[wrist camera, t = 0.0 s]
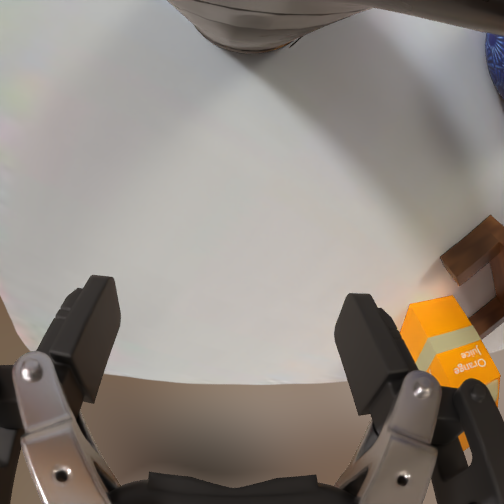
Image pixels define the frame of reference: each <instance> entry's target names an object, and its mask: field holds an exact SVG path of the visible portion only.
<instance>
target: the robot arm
mask: <svg viewBox="0 0 504 504" xmlns="http://www.w3.org/2000/svg"><path fill="white" fill-rule="evenodd" d="M167 1H168V2H169V3H170V4H171V5H173V6H174V7H175V8H176V9H177V10H178V11H179V12H180V13H181V14H183V15H184V16H185V17H186V18H187V19H188V20H189V21H190V22H191V23H192V24H193V25H194V26H195V27H196V29H197V30H198V31H199V32H200V33H201V34H202V35H203V36H204V37H205V38H206V39H208V40H209V41H210V42H212V43H214V44H215V45H217V46H219V47H221V48H224V49H226V50H230V51H233V52H238V53H248V54H254V53H264V52H269V51H273V50H276V49H279V48H281V47H283V46H285V45H287V44H289V43H291V42H292V41H294V40H295V39H297V38H299V39H300V38H301V37H303V36H304V35H306V34H308V33H311V32H313V31H315V30H317V29H320V28H322V27H324V26H327V25H329V24H332V23H334V22H337V21H339V20H342V19H344V18H347V17H350V16H352V15H354V14H357V13H360V12H363V11H366V10H369V9H372V8H377V9H383V10H388V11H393V12H398V13H402V14H406V15H411V16H415V17H420V18H424V19H428V20H433V21H437V22H441V23H446V24H450V25H454V26H458V27H463V28H467V29H472V30H476V31H480V32H485V33H490V34H494V35H499V36H503V37H504V0H167ZM299 39H298V40H299ZM298 40H297V41H298ZM297 41H295V42H294V43H293V44H292V45H291V46H293V45H294V44H295V43H296V42H297ZM291 46H290V47H291ZM290 47H289V48H290ZM120 321H121V313H120V307H119V302H118V297H117V291H116V286H115V281H114V278H113V277H108V276H98V275H91V276H90V278H89V279H88V281H87V283H86V284H85V286H84V288H83V289H82V288H77V289H76V290H75V291H73V292H72V293H71V294H70V295H68V296H67V297H66V299H65V301H64V302H63V304H62V306H61V309H59V311H58V313H57V314H56V318H54V319H53V321H52V323H51V325H50V326H49V328H48V330H47V332H46V334H45V336H44V337H43V339H42V341H41V343H40V345H39V347H38V349H37V350H36V351H32V352H28V353H26V354H24V355H22V356H21V357H20V358H19V359H18V360H17V361H16V362H15V364H14V365H0V504H10V500H11V493H12V488H13V482H14V477H15V472H16V468H17V463H18V459H19V455H20V450H21V447H22V450H23V453H24V456H25V459H26V462H27V465H28V468H29V471H30V474H31V476H32V479H33V481H34V484H35V486H36V489H37V491H38V494H39V496H40V499H41V501H42V503H43V504H422V503H423V500H424V498H425V495H426V492H427V489H428V486H429V483H430V480H432V484H433V488H434V492H435V496H436V500H437V504H504V421H503V419H502V416H501V414H500V412H499V410H498V408H497V406H496V403H495V401H494V399H493V397H492V395H491V393H490V391H489V389H488V388H487V386H486V385H485V384H484V383H483V382H481V381H480V380H477V379H474V378H469V379H466V380H465V381H464V382H463V383H462V384H461V385H460V387H459V388H452V387H445V386H440V384H439V382H438V380H437V379H436V378H435V377H434V376H433V375H431V374H430V373H428V372H425V371H422V370H419V369H418V367H417V365H416V363H415V361H414V359H413V357H412V356H411V354H410V352H409V350H408V348H407V346H406V344H405V342H404V340H403V339H402V336H401V334H400V333H399V331H398V330H397V327H396V325H395V323H394V321H393V320H392V318H391V317H390V316H389V315H388V314H387V313H386V312H385V311H384V310H383V309H382V308H378V307H377V305H376V304H375V302H374V300H373V298H372V296H371V295H370V294H358V293H349V294H348V295H347V297H346V299H345V301H344V304H343V307H342V310H341V312H340V315H339V318H338V320H337V323H336V326H335V331H334V337H335V343H336V346H337V349H338V352H339V355H340V358H341V361H342V364H343V367H344V370H345V373H346V376H347V380H348V383H349V386H350V389H351V392H352V395H353V398H354V402H355V405H356V409H357V412H358V415H366V414H371V417H372V420H371V422H370V423H369V425H368V427H367V429H366V431H365V434H364V436H363V438H362V440H361V442H360V444H359V446H358V448H357V450H356V452H355V454H354V456H353V458H352V460H351V462H350V464H349V465H348V467H347V468H346V470H345V471H344V472H343V474H342V475H341V476H340V478H339V479H338V481H337V482H336V483H335V485H334V486H331V485H327V484H323V483H317V477H316V475H308V476H298V477H287V478H276V479H272V480H268V481H265V482H261V483H257V484H253V485H249V486H245V487H240V488H229V487H225V486H221V485H217V484H213V483H210V482H206V481H203V480H199V479H196V478H193V477H188V476H178V475H169V474H161V473H154V472H149V478H148V480H140V481H135V482H131V483H128V484H125V485H122V486H121V485H120V484H119V482H118V480H117V478H116V477H115V475H114V474H113V472H112V471H111V469H110V468H109V466H108V465H107V463H106V462H105V460H104V459H103V457H102V455H101V453H100V451H99V449H98V447H97V445H96V443H95V441H94V439H93V437H92V435H91V433H90V431H89V429H88V426H87V424H86V422H85V420H84V418H83V415H82V413H81V411H80V409H81V405H82V402H83V401H84V402H88V403H93V404H94V402H95V398H96V396H97V392H98V389H99V386H100V383H101V379H102V376H103V373H104V370H105V367H106V364H107V361H108V358H109V355H110V353H111V350H112V347H113V344H114V341H115V338H116V336H117V333H118V330H119V327H120ZM463 432H464V433H465V435H466V438H467V441H468V444H469V446H470V449H471V452H472V463H471V465H470V466H469V467H468V464H467V461H466V458H465V455H464V452H463V449H462V446H461V443H460V441H459V438H458V436H459V435H460V434H462V433H463Z"/></svg>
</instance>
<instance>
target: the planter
mask: <svg viewBox="0 0 504 504" xmlns="http://www.w3.org/2000/svg"><path fill="white" fill-rule="evenodd" d="M485 50H486V59H487V65H488V69H489V72H490V75H491V78H492V81H493V83H494V85H495V87H496V89H497V91H498V92H499V94H500V95H501V97H502V98H503V99H504V37H503V36H499V35H494V34H490V33H487V35H486V44H485Z"/></svg>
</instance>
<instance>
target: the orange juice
mask: <svg viewBox="0 0 504 504" xmlns="http://www.w3.org/2000/svg"><path fill="white" fill-rule="evenodd" d="M400 334H401V336H402V339H403V340H404V342H405V344H406V346H407V348H408V350H409V352H410V354H411V356H412V357H413V359H414V361H415V363H416V365H417V367H418V369H419V370H422V371H425V372H428V373H430V374H431V375H433V376H434V377H435V378H436V379H437V380H438V382H439V384H440V386H445V387H452V388H459V387H460V385H461V384H462V383H463V382H464V381H465V380H466V379H469V378H474V379H477V380H480V381H481V382H483V383H484V384H485V385H486V386H487V388H488V389H489V391H490V393H491V395H492V397H493V399H494V401H495V403H496V406H497V408H498V399H499V384H500V376H501V375H500V373H499V371H498V370H497V368H496V366H495V364H494V362H493V360H492V358H491V357H490V355H489V353H488V351H487V349H486V348H485V346H484V344H483V342H482V341H481V338H480V337H479V335H478V333H477V332H476V330H475V328H474V327H473V325H472V324H471V323H470V321H469V319H468V318H467V316H466V315H465V313H464V312H463V310H462V308H461V307H460V305H459V304H458V302H457V301H456V299H455V298H454V296H453V295H451V296H447V297H442V298H437V299H433V300H428V301H423V302H418V303H413V304H410V306H409V309H408V311H407V314H406V317H405V320H404V323H403V326H402V328H401V331H400ZM458 438H459V441H460V443H461V446H462V449H463V451H464V450H466V449H467V448H468V447H470V446H469V444H468V441H467V438H466V435H465V433H464V432H463V433H462V434H460V435H459V436H458Z"/></svg>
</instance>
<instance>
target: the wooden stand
mask: <svg viewBox="0 0 504 504" xmlns="http://www.w3.org/2000/svg"><path fill="white" fill-rule="evenodd" d="M440 258H441V260H442V263H443V265H444V267H445V268H446V270H447V271H448V272H449V273H450V275H451V276H452V278H453V279H454V280H455V282H456V283H457V284H458V286H461V285H462V284H463V283H464V282H466V281H467V280H468V279H469V278H471V277H472V276H473V275H474V274H476V273H477V272H478V271H479V270H480V269H482V268H483V267H484V266H485V265H486V264H488V263H489V262H490V265H491V270H492V275H493V281H494V286H495V292H496V297H495V298H494V299H493V300H491V301H490V302H489V303H488V304H486V305H485V306H484V307H483V308H481V309H480V310H479V311H478V312H476V313H475V314H474V315H473V316H471V317H470V318H469V321H470V323H471V324H472V325H473V327H474V328H475V330H476V332H477V333H478V335H479V337H480V338H481V340H482V339H483V338H484V337H486V336H487V335H488V334H490V333H491V332H492V331H493V330H495V329H496V328H497V327H498V326H500V325H501V324H502V323H503V322H504V226H503V225H501V224H500V223H499V222H498V221H497V220H496V219H495V218H494V217H493V216H491V215H490V216H489V217H488V218H487V219H485V220H484V221H483V222H482V223H481V224H480V225H479V226H477V227H476V228H475V229H474V230H473V231H472V232H470V233H469V234H468V235H467V236H466V237H464V238H463V239H462V240H461V241H459V242H458V243H457V244H456V245H455V246H453V247H452V248H451V249H450V250H448V251H447V252H446V253H445V254H443V255H442V256H441V257H440Z"/></svg>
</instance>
